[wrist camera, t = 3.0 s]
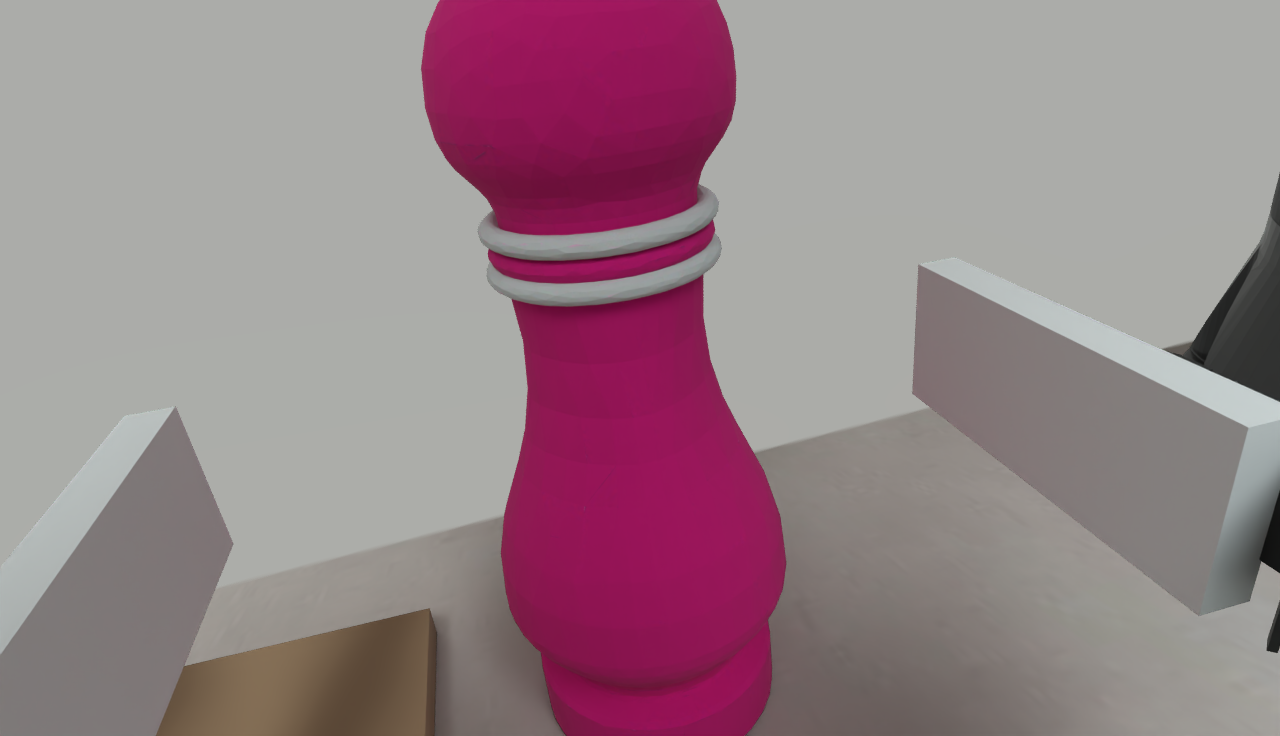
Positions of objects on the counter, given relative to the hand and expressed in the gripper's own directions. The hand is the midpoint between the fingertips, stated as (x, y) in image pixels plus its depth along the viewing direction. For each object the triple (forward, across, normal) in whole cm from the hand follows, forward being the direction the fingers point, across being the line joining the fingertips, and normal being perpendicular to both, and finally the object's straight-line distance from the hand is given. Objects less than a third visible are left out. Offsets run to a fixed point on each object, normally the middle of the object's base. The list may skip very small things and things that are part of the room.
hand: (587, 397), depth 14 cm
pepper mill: (+4, +1, -11) cm, 12 cm away
